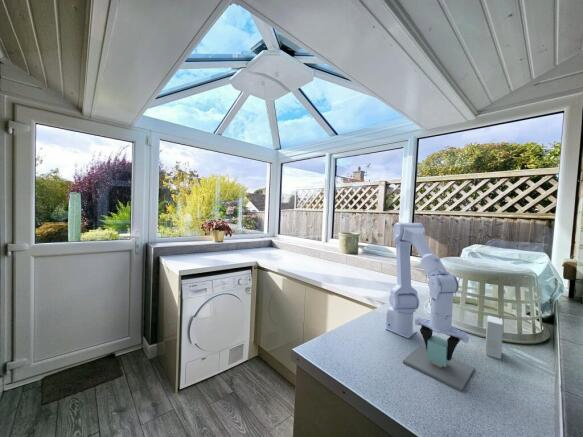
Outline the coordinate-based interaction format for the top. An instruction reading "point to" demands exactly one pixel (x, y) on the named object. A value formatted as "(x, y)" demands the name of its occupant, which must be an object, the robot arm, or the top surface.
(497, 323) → the skincare box
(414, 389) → the top surface
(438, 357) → the mint green cube
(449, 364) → the post board
